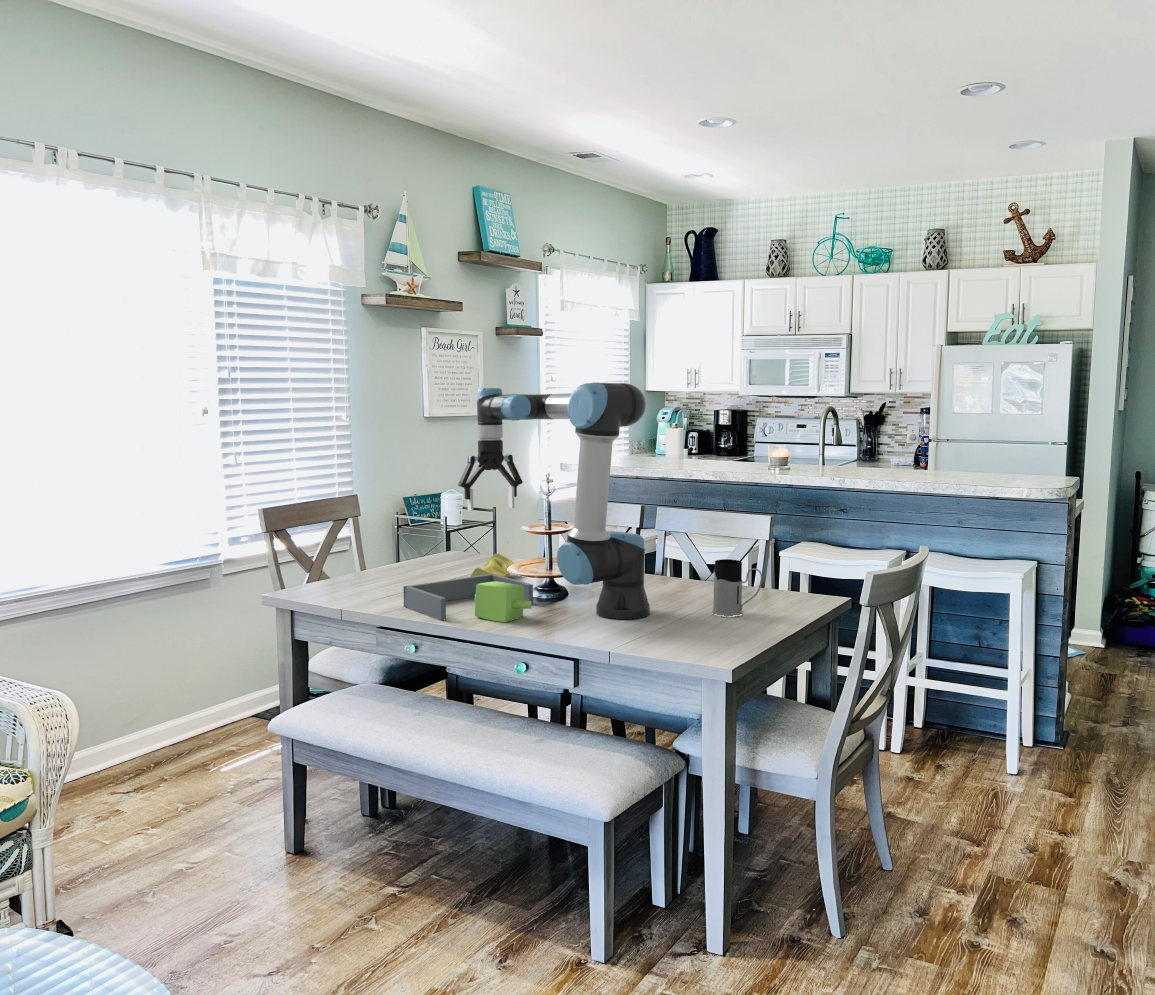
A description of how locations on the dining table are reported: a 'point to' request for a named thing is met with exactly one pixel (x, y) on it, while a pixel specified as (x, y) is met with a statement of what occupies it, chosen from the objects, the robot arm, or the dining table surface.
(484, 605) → the gearbox
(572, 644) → the dining table surface
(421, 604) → the grey low frame
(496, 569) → the yellow crumpled cloth
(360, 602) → the dining table surface
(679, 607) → the dining table surface
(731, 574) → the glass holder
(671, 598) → the dining table surface
